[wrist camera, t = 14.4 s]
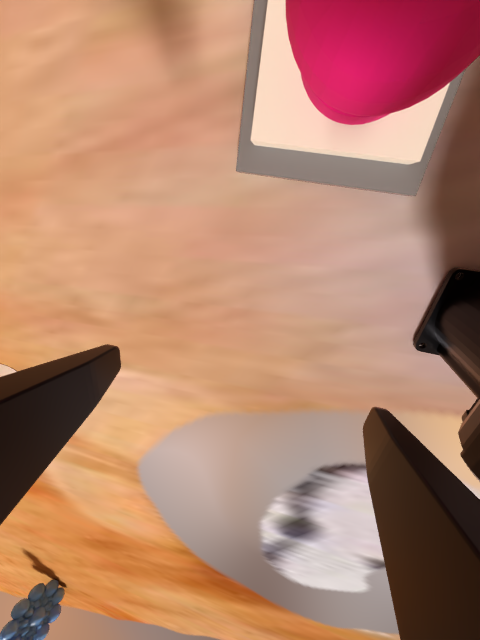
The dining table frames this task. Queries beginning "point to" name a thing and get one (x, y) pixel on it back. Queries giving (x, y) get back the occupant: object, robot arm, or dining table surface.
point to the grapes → (34, 613)
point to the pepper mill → (379, 52)
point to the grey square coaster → (326, 124)
